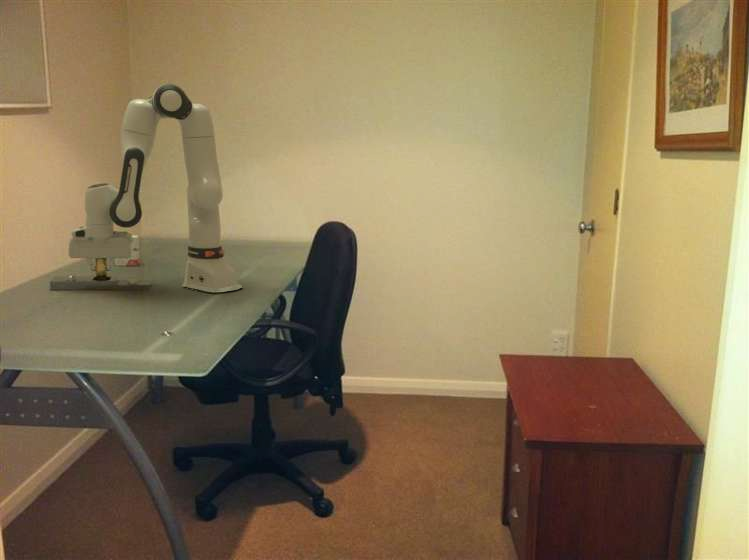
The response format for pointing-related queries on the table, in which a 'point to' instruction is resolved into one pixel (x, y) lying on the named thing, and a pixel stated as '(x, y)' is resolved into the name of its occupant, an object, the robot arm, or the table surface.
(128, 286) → the latch strike plate
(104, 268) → the brass pin
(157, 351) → the table surface
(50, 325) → the table surface
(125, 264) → the ink box
